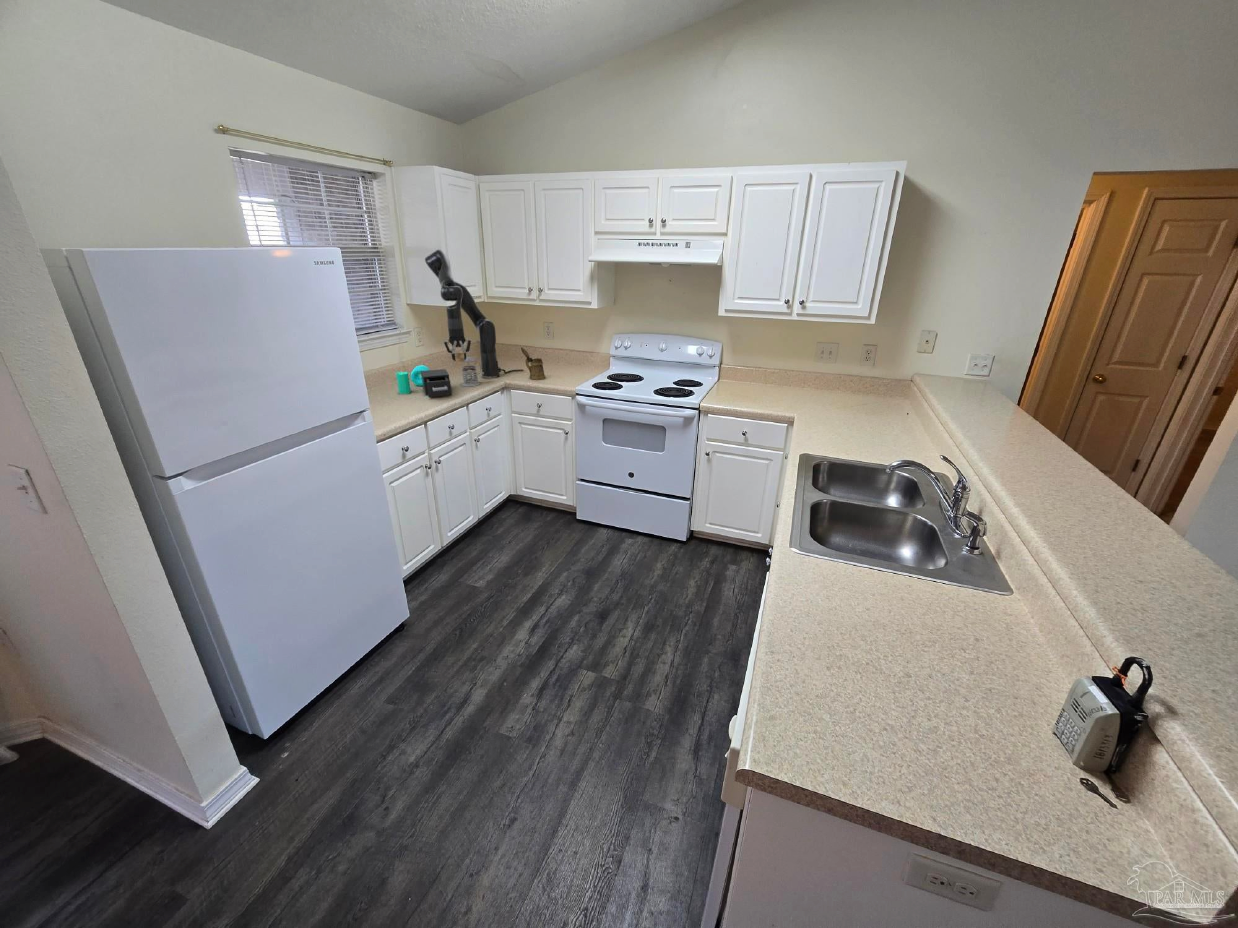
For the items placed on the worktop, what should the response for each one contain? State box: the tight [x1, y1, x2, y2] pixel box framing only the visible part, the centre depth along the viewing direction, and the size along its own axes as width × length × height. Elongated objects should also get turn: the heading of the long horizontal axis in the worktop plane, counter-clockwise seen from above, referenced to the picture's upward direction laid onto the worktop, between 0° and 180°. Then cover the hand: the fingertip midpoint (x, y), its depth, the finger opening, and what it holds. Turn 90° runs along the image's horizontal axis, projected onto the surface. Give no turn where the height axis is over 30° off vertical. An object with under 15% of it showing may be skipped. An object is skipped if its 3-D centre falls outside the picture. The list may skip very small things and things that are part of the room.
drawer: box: [426, 377, 453, 399], centre depth 263 cm, size 18×12×8 cm, turn 24°
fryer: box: [420, 368, 451, 396], centre depth 273 cm, size 15×13×10 cm
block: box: [454, 350, 465, 363], centre depth 268 cm, size 4×4×4 cm
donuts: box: [410, 364, 431, 387], centre depth 286 cm, size 10×10×10 cm
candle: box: [395, 369, 412, 395], centre depth 269 cm, size 6×6×12 cm
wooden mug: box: [520, 347, 546, 381], centre depth 300 cm, size 9×14×18 cm, turn 84°
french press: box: [461, 341, 482, 387], centre depth 285 cm, size 10×12×25 cm
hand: (459, 360), depth 269 cm, fingers closed on block, 4 cm apart
